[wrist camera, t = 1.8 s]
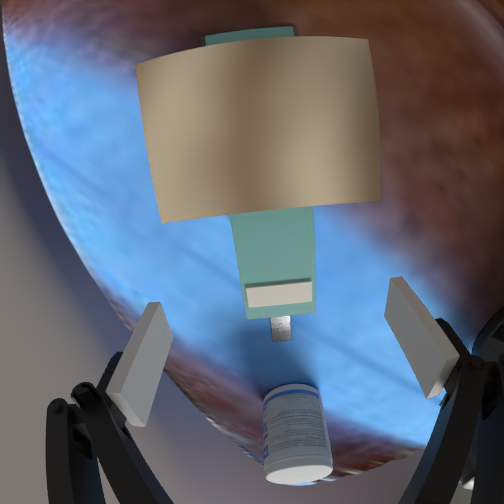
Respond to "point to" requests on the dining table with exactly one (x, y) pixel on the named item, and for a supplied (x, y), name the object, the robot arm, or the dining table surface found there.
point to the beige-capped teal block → (273, 239)
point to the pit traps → (202, 38)
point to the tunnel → (261, 126)
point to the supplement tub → (295, 435)
